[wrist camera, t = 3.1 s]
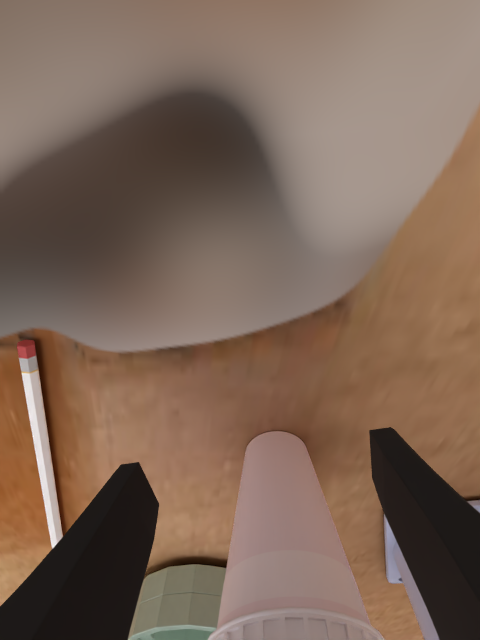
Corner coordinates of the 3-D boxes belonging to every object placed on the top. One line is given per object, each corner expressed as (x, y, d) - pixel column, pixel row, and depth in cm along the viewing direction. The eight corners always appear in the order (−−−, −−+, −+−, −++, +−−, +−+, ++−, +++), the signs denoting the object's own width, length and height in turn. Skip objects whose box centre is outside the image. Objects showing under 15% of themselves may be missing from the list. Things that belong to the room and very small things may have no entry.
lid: (253, 550, 23) (254, 620, 20) (277, 622, 28) (281, 690, 24) (117, 564, 25) (94, 632, 21) (160, 631, 29) (148, 697, 25)
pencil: (38, 341, 16) (29, 347, 15) (68, 556, 24) (63, 566, 23) (21, 338, 16) (12, 345, 15) (57, 555, 24) (52, 565, 23)
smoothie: (315, 496, 21) (420, 1014, 8) (216, 484, 20) (164, 998, 8) (343, 420, 18) (570, 1026, 5) (229, 405, 18) (181, 1004, 5)
